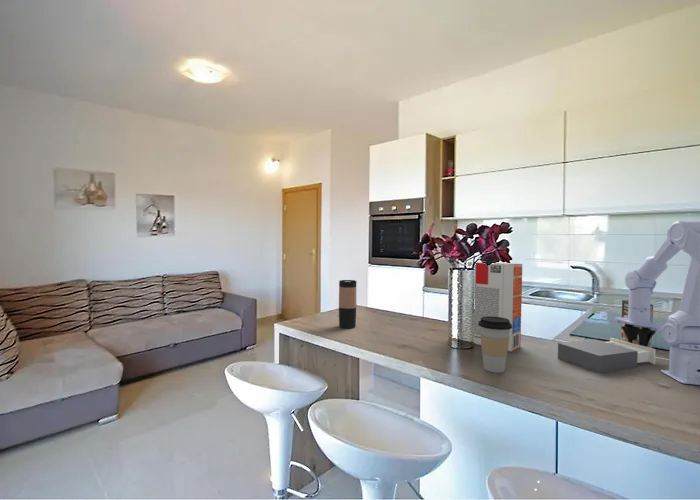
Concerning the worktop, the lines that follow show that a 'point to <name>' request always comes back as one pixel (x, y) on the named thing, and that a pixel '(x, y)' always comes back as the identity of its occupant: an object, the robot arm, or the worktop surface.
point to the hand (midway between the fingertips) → (637, 349)
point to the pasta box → (498, 297)
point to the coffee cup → (494, 342)
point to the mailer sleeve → (597, 355)
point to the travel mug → (347, 304)
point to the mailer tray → (643, 352)
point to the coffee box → (625, 315)
